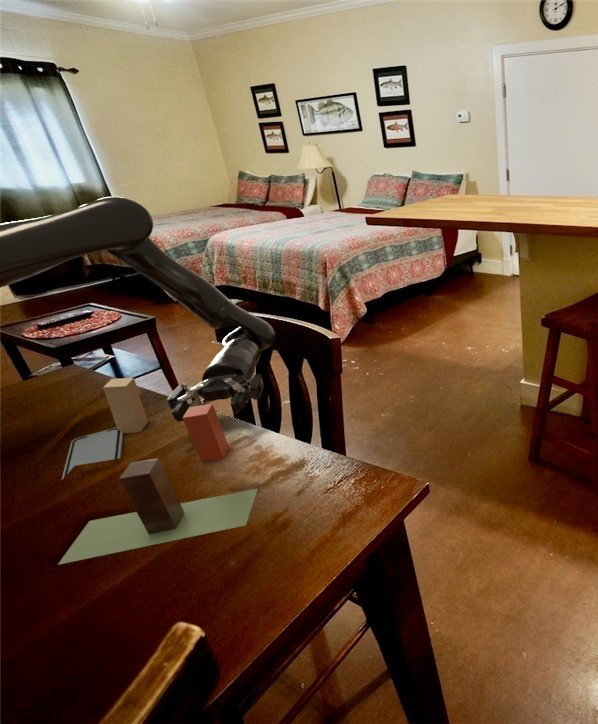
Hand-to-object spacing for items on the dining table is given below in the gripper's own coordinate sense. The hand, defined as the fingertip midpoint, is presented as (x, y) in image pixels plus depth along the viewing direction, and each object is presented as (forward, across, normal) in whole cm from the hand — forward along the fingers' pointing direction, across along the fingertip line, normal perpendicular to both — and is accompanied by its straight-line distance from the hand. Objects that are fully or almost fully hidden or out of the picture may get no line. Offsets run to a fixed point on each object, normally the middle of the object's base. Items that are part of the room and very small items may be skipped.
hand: (206, 412), depth 81 cm
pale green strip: (+19, -2, +8) cm, 20 cm away
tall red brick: (+3, 0, +8) cm, 8 cm away
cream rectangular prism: (-13, -18, +8) cm, 23 cm away
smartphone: (-4, -20, +8) cm, 22 cm away
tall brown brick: (+19, -2, +7) cm, 20 cm away
